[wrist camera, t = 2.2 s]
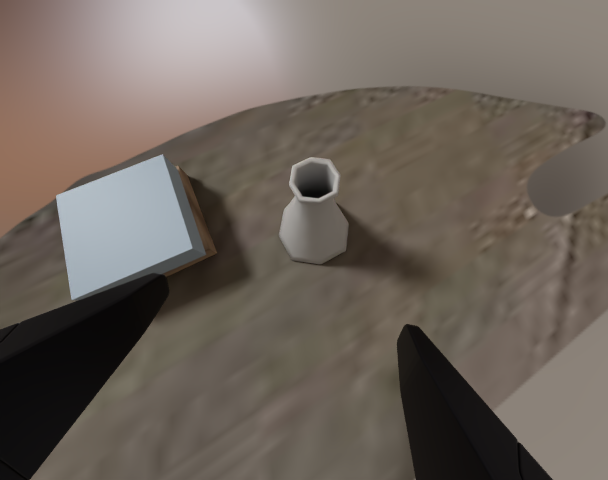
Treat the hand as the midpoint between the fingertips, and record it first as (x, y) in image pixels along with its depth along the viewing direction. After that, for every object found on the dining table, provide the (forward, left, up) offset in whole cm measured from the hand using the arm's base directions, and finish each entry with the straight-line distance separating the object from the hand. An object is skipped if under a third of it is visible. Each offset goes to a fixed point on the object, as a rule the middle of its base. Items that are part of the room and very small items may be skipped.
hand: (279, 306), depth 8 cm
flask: (+8, 0, -14) cm, 16 cm away
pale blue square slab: (+3, +16, -12) cm, 20 cm away
